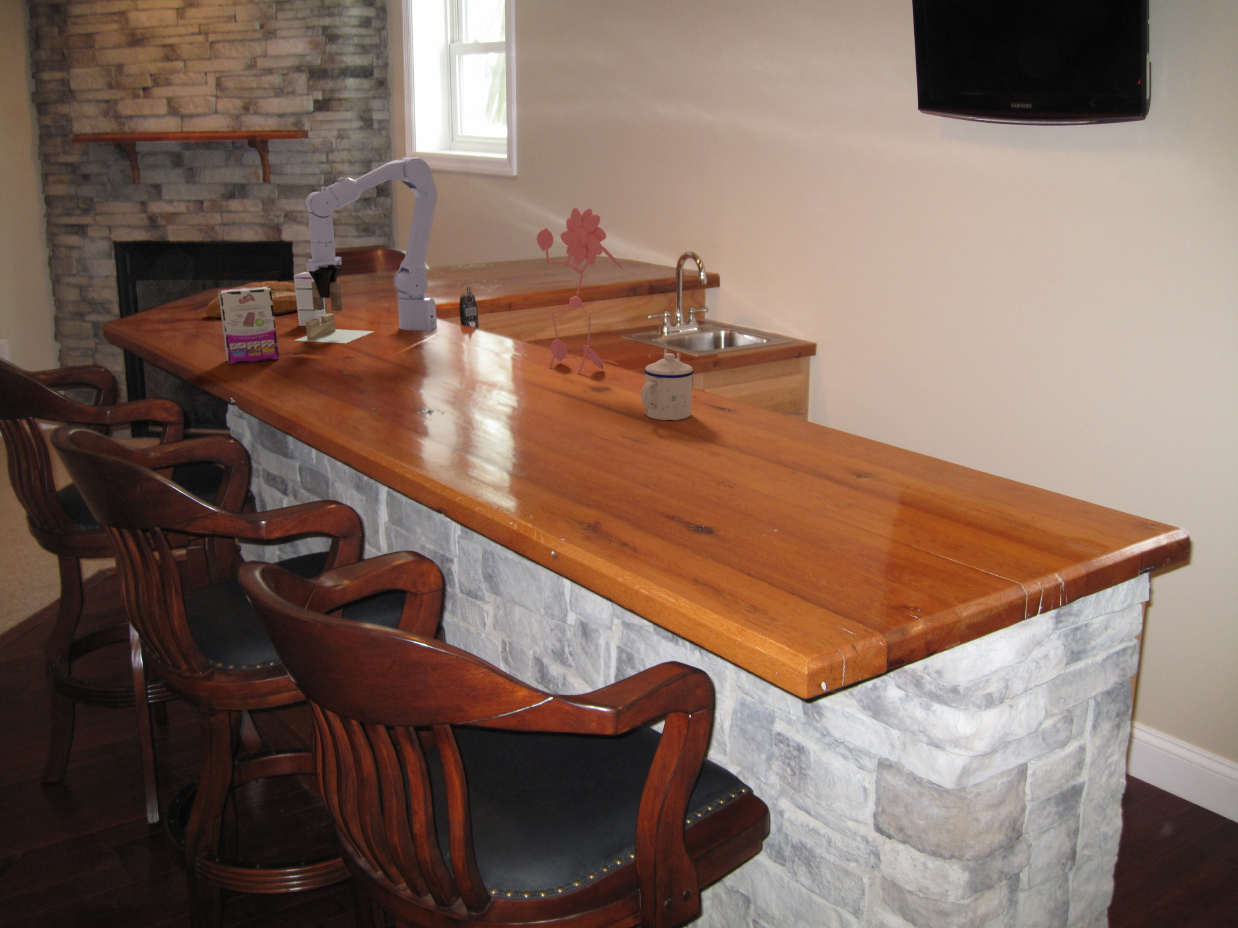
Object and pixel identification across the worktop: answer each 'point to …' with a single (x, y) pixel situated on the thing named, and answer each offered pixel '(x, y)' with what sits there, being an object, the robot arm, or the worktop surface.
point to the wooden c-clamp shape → (333, 294)
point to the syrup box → (306, 299)
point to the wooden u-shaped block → (320, 326)
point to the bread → (280, 297)
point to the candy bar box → (248, 324)
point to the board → (339, 336)
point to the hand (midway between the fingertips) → (326, 296)
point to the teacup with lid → (668, 389)
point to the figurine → (581, 245)
